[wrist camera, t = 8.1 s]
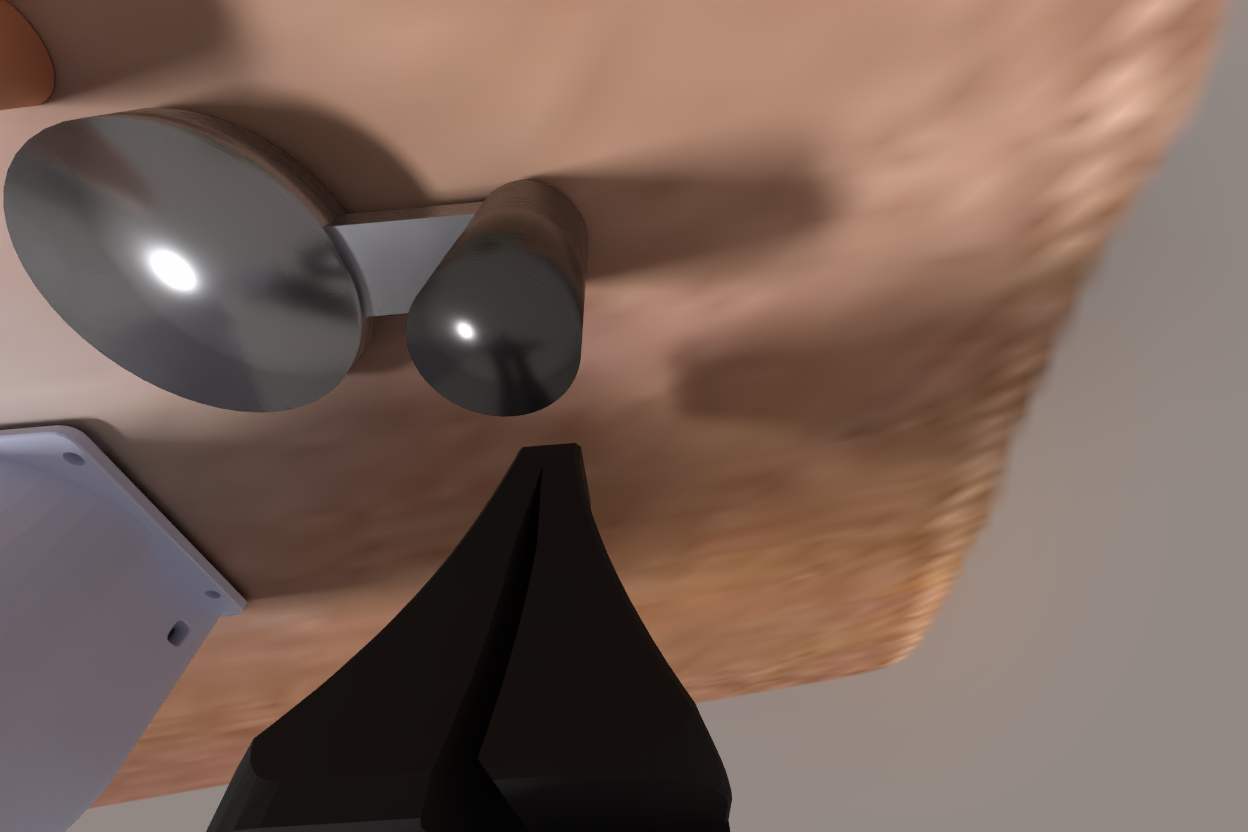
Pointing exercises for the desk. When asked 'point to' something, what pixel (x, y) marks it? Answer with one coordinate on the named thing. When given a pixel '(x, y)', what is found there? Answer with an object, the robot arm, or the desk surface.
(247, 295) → the crank
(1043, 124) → the desk surface
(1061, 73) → the desk surface
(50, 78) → the post
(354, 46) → the desk surface
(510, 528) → the robot arm
